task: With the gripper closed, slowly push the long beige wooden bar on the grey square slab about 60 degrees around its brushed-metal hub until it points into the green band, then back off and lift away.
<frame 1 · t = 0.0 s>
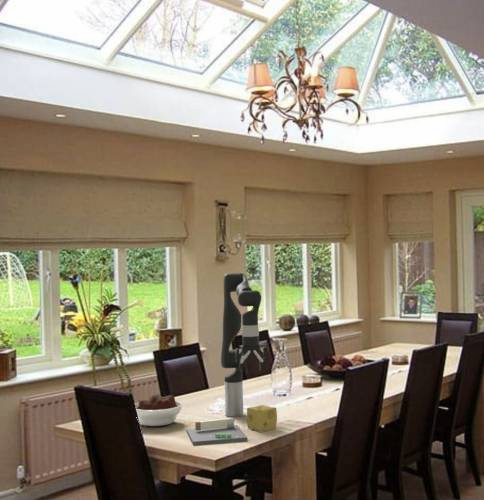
hand: (251, 371, 323), 29 cm above the table, fingers open, 8 cm apart
grey square slab: (230, 430, 334), on the table
bowl of brownies: (157, 424, 351), on the table
beige wooden bar: (215, 424, 331), point 4 cm above the table, hinge at -80.0°
cheese: (261, 429, 337), on the table
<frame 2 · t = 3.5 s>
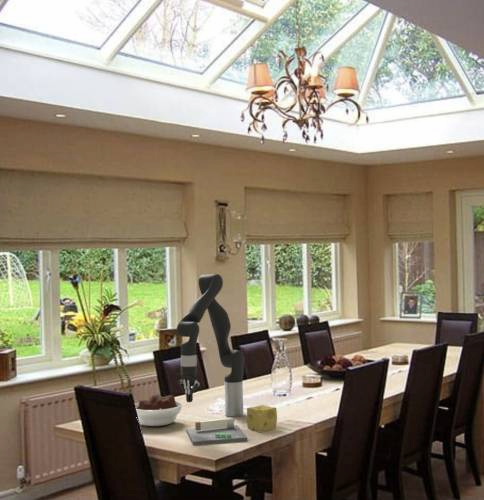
hand: (189, 402, 333), 14 cm above the table, fingers closed
nothing on the table moved.
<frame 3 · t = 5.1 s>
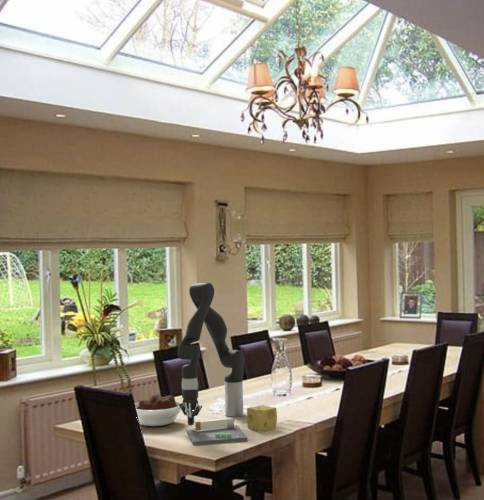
hand: (191, 424, 333), 4 cm above the table, fingers closed
nothing on the table moved.
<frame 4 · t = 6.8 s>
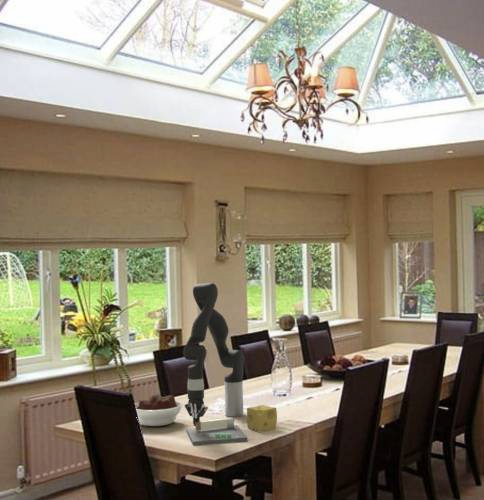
hand: (196, 425, 330), 4 cm above the table, fingers closed
beige wooden bar: (215, 424, 331), point 4 cm above the table, hinge at -78.9°, touching gripper
everything else where it was.
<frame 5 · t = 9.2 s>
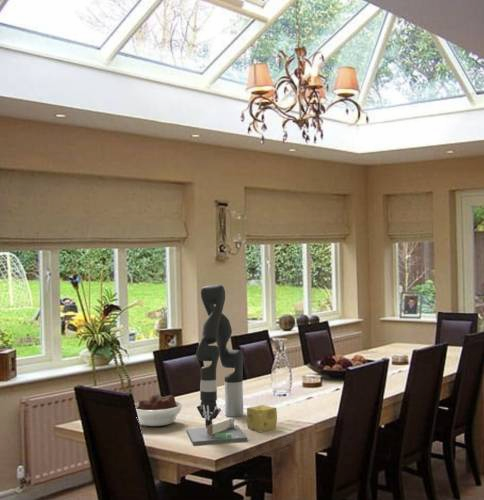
hand: (208, 428, 325), 4 cm above the table, fingers closed
beige wooden bar: (220, 426, 328), point 4 cm above the table, hinge at -45.7°, touching gripper
everything else where it was.
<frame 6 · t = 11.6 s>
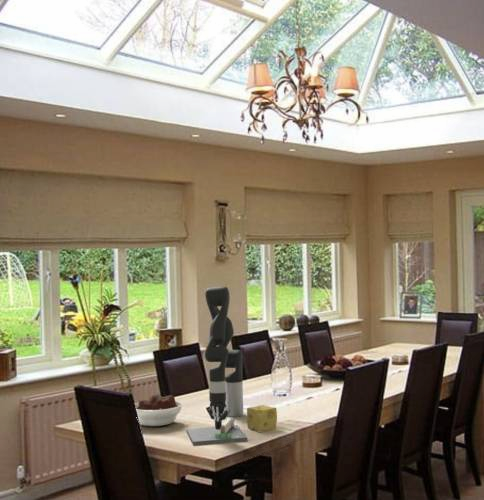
hand: (218, 429, 322), 4 cm above the table, fingers closed
beige wooden bar: (226, 426, 326), point 4 cm above the table, hinge at -22.4°, touching gripper
everything else where it was.
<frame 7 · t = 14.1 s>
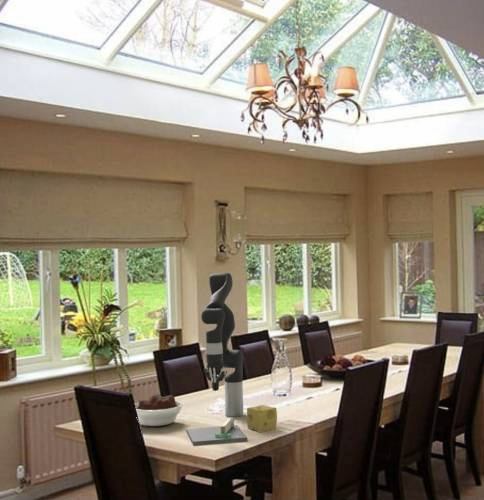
hand: (215, 390, 326), 20 cm above the table, fingers closed
beige wooden bar: (226, 426, 326), point 4 cm above the table, hinge at -22.0°
everything else where it was.
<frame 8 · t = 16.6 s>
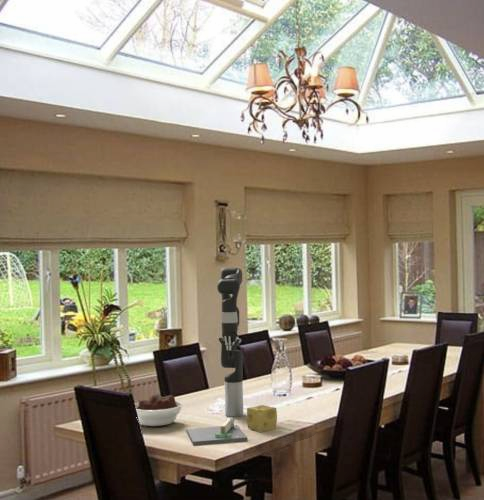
hand: (230, 358, 339), 33 cm above the table, fingers closed
nothing on the table moved.
at the end: beige wooden bar at -22° (first picture: -80°); cheese moved 0.3 cm from its start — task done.
